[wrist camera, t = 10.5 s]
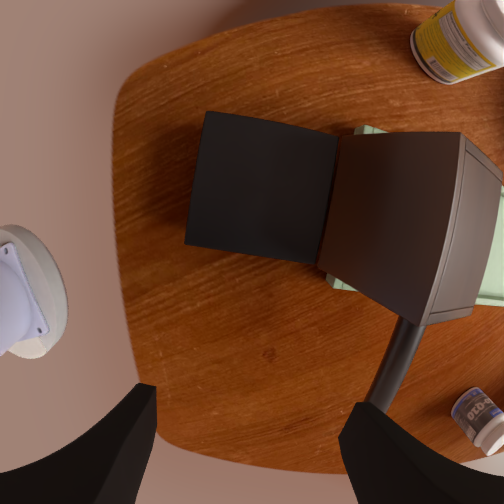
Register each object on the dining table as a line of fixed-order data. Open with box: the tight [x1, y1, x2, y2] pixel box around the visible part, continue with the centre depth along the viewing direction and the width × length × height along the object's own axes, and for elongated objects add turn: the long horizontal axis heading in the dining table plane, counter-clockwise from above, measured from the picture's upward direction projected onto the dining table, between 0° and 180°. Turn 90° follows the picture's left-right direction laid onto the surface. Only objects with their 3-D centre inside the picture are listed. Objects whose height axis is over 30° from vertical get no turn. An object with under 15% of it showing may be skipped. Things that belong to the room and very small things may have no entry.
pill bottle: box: [451, 387, 504, 456], centre depth 20 cm, size 5×5×8 cm
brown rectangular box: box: [317, 132, 503, 414], centre depth 13 cm, size 7×14×5 cm
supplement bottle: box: [410, 0, 504, 84], centre depth 11 cm, size 5×5×10 cm
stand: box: [184, 111, 339, 264], centre depth 16 cm, size 7×7×4 cm
